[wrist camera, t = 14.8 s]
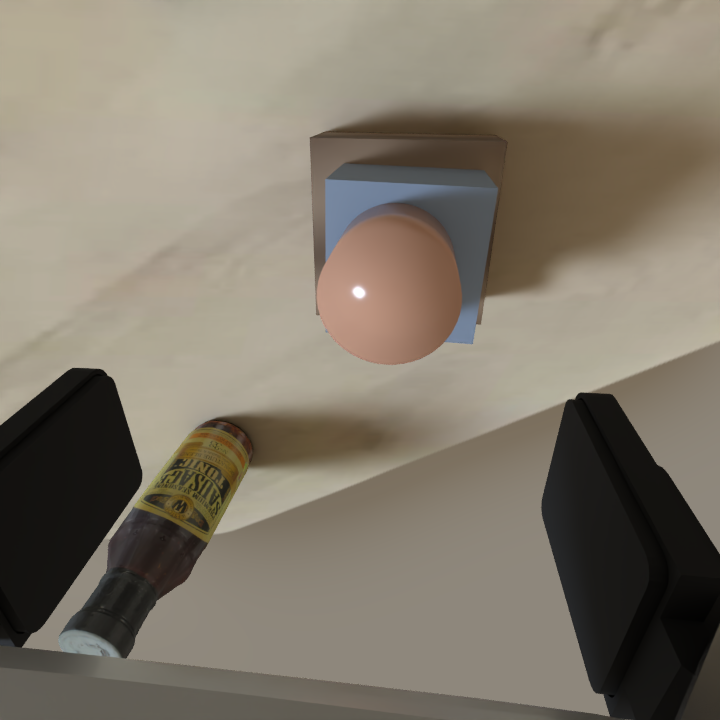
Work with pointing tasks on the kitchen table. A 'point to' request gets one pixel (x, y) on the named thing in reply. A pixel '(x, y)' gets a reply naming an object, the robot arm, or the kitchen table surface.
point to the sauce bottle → (161, 539)
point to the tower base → (400, 151)
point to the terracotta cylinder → (391, 285)
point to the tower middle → (439, 198)
